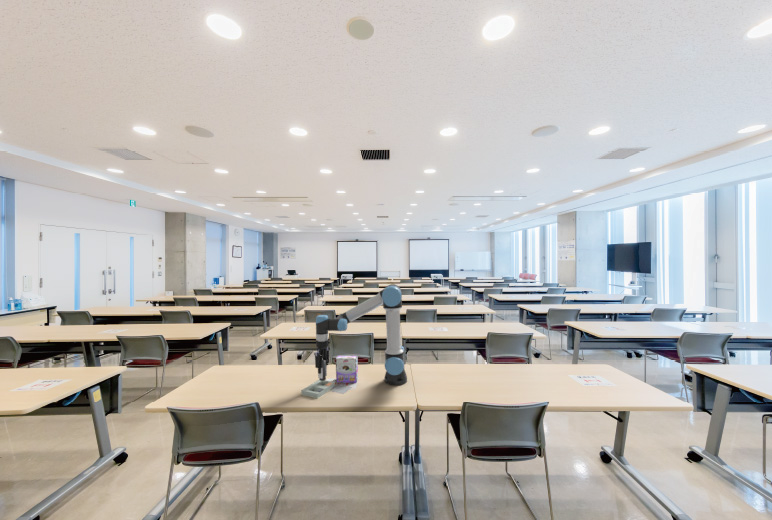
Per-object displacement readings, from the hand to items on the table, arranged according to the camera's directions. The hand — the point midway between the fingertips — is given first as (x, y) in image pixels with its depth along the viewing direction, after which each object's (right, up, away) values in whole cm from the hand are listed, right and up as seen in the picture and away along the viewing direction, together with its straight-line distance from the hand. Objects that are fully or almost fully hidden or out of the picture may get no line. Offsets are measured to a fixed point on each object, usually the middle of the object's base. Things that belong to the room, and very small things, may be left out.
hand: (322, 376), depth 200 cm
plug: (0, -2, 0) cm, 2 cm away
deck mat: (+12, -7, -3) cm, 14 cm away
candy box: (+14, -7, +10) cm, 19 cm away
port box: (-2, -7, -4) cm, 9 cm away
